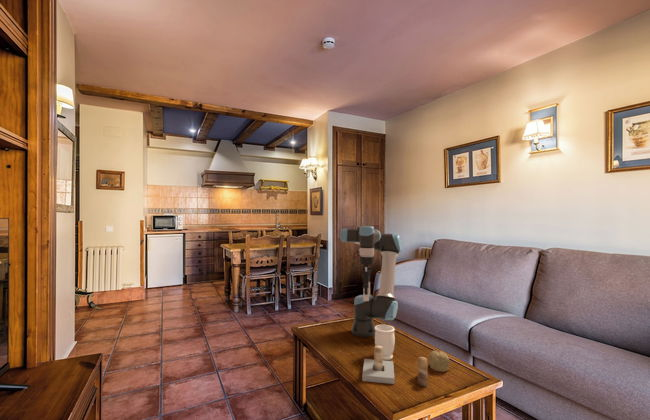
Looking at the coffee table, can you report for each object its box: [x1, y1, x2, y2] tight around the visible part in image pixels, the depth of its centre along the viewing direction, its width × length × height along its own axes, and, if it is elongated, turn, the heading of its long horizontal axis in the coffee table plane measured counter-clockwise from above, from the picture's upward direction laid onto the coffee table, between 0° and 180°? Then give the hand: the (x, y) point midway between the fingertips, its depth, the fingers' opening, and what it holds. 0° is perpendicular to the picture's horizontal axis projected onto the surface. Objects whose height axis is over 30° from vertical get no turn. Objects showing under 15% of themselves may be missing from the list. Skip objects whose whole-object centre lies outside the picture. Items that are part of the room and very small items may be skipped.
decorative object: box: [428, 350, 450, 373], centre depth 148 cm, size 9×10×10 cm
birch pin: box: [373, 345, 383, 371], centre depth 142 cm, size 4×4×12 cm
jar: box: [374, 324, 396, 361], centre depth 160 cm, size 11×10×15 cm
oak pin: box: [417, 356, 428, 373], centre depth 140 cm, size 4×4×8 cm
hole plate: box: [361, 358, 395, 385], centre depth 142 cm, size 16×14×2 cm
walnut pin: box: [417, 370, 429, 388], centre depth 133 cm, size 4×4×5 cm
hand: (366, 297), depth 157 cm, fingers open, 13 cm apart
